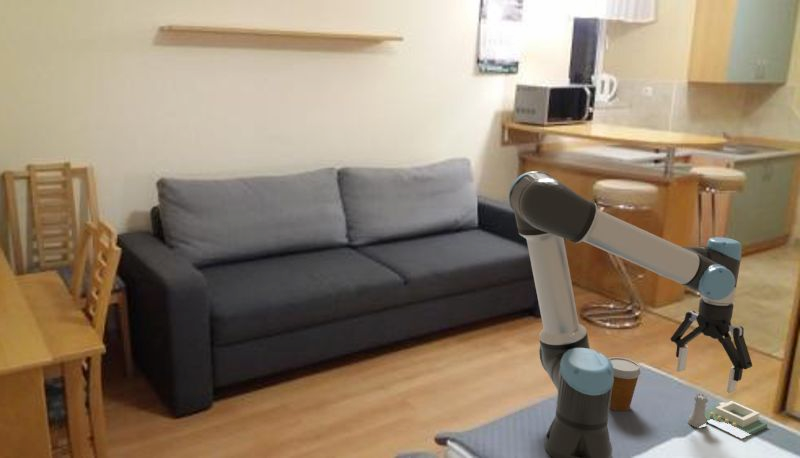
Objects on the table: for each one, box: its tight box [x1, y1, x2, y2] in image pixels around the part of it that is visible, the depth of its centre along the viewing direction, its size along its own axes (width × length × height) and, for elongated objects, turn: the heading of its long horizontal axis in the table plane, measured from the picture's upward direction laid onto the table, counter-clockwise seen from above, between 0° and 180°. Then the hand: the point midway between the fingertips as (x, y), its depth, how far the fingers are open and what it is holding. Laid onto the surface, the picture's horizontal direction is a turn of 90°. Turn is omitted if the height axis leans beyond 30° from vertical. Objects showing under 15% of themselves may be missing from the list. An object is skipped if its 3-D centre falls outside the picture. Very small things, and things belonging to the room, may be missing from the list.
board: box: [705, 400, 768, 435], centre depth 167 cm, size 12×12×3 cm
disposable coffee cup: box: [608, 356, 642, 412], centre depth 173 cm, size 10×10×12 cm
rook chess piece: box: [687, 393, 709, 428], centre depth 165 cm, size 4×4×8 cm
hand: (705, 380), depth 163 cm, fingers open, 13 cm apart
